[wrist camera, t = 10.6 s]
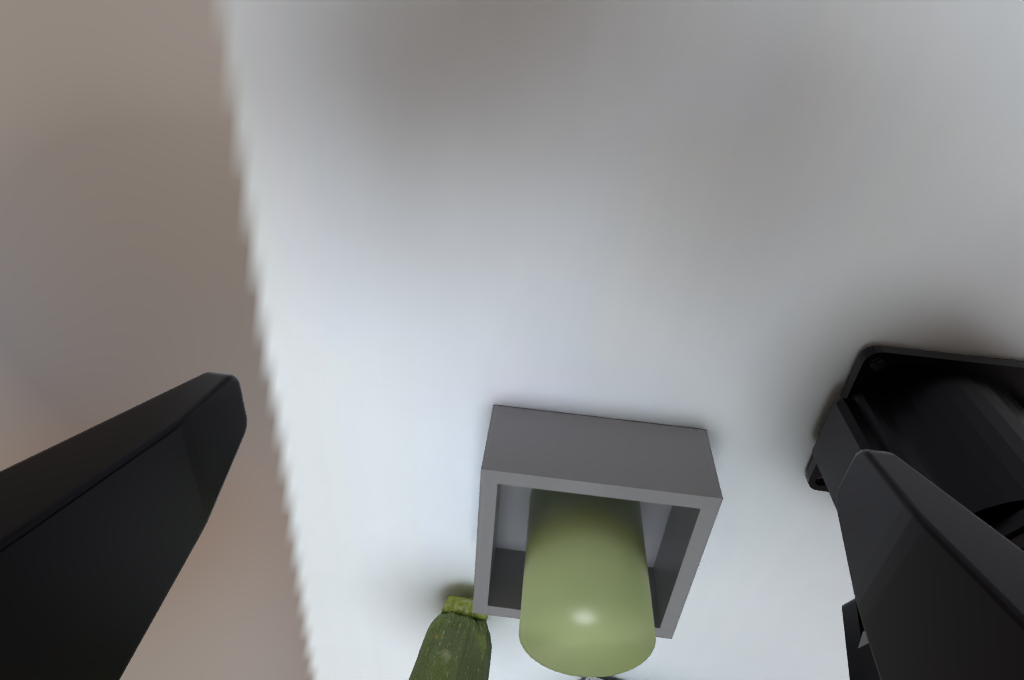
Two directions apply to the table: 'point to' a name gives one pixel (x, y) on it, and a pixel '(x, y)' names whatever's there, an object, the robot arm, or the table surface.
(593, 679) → the tea box
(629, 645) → the olive cylinder
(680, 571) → the bin
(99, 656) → the robot arm
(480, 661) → the vegetable
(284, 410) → the table surface
